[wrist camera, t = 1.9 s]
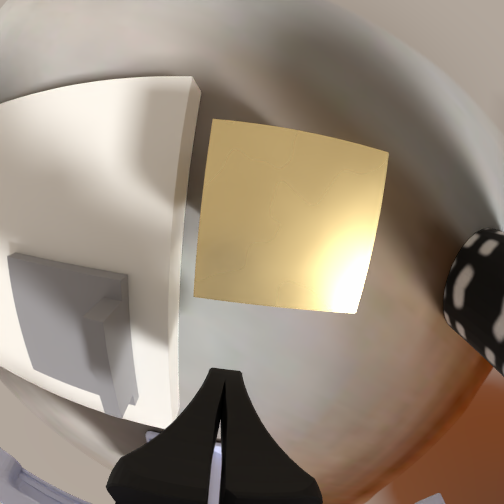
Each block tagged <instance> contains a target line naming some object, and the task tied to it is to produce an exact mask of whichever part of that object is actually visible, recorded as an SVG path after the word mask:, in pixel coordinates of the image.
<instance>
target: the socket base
mask: <svg viewBox="0 0 504 504" xmlns="http://www.w3.org/2000/svg"><path fill="white" fill-rule="evenodd" d="M201 93H202V92H201V91H200V89H199V87H198V85H197V84H196V82H195V80H194V78H193V77H192V76H153V77H134V78H121V79H111V80H103V81H95V82H88V83H82V84H76V85H70V86H65V87H60V88H55V89H51V90H46V91H42V92H38V93H34V94H31V95H27V96H23V97H20V98H17V99H13V100H10V101H7V102H4V103H1V104H0V366H1V367H3V368H5V369H6V370H8V371H10V372H12V373H14V374H15V375H17V376H19V377H21V378H23V379H25V380H27V381H29V382H31V383H33V384H35V385H37V386H39V387H41V388H43V389H45V390H47V391H49V392H52V393H54V394H56V395H58V396H61V397H63V398H65V399H68V400H70V401H73V402H75V403H78V404H81V405H83V406H86V407H89V408H92V409H94V410H97V411H100V412H103V413H105V412H104V409H103V406H102V402H101V399H100V396H99V395H97V394H94V393H91V392H88V391H85V390H82V389H79V388H77V387H74V386H71V385H69V384H66V383H64V382H61V381H59V380H56V379H54V378H52V377H49V376H47V375H45V374H43V373H40V372H38V371H36V370H34V369H33V367H32V364H31V361H30V358H29V355H28V352H27V349H26V346H25V342H24V339H23V335H22V332H21V328H20V324H19V320H18V316H17V312H16V308H15V303H14V298H13V293H12V288H11V282H10V276H9V269H8V261H7V256H8V255H11V254H13V253H15V252H16V253H20V254H25V255H29V256H34V257H39V258H43V259H48V260H53V261H58V262H63V263H68V264H73V265H78V266H83V267H89V268H94V269H99V270H105V271H111V272H116V273H122V274H128V297H129V315H130V329H131V340H132V350H133V359H134V367H135V375H136V382H137V388H138V394H139V398H138V400H137V403H136V405H135V406H134V405H130V404H129V405H128V407H127V409H126V411H125V413H124V416H123V419H126V420H130V421H134V422H137V423H141V424H145V425H149V426H154V427H158V428H163V429H166V428H167V427H168V426H169V425H170V424H171V423H172V422H173V421H174V420H175V419H176V418H177V414H178V410H179V406H180V405H179V367H178V335H179V295H180V274H181V257H182V242H183V230H184V218H185V208H186V198H187V188H188V180H189V171H190V163H191V156H192V149H193V142H194V135H195V128H196V122H197V116H198V110H199V104H200V98H201Z"/></svg>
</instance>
